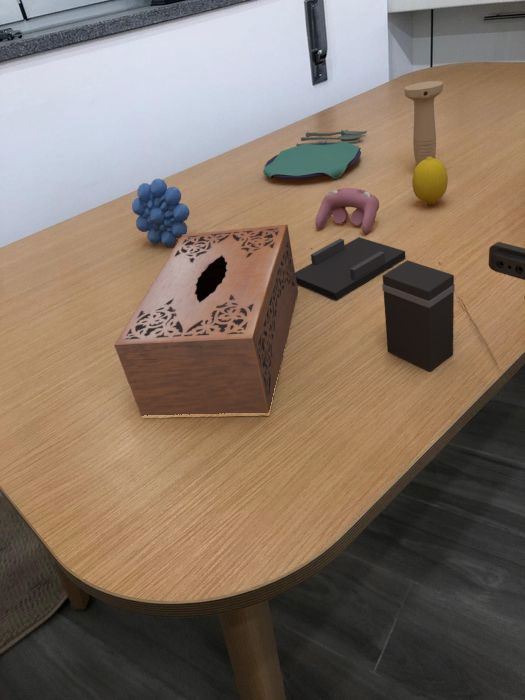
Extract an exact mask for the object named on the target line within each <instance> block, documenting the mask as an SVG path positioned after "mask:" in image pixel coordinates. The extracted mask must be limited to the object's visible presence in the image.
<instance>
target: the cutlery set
mask: <svg viewBox="0 0 525 700" xmlns="http://www.w3.org/2000/svg"><path fill="white" fill-rule="evenodd" d="M367 132H368V130H362V131H360V130H348V129H345V130H344V129H341V130H340V131H334V132H311V131H310V132H309V131H308V132H305V136H302V137H301V138H300V141H301V142H306V141H318V142H309V143H296V144H295V145H296V146H293V147H289V148H287V149H283V150H281V151H279V152H278V154H276V155H274V156H273V157H271V158H270V159H268V160H267V161H266V163H265V165H264V168H263V171H262V172H263V174H264V175H265V176H266V177H268V178H269V179H271V180H272V179H273V178H279V179H283V180H305V179H306V180H307V179H314V178H319V177H324V176H330V177H331V178H332V179H334V180H338V179H339V178H341V176H342V175H343V174H344V173H345V171H346V169H347V168H349V167H351V166H353V165H354V164H355V163H356V162H357V161H358V160H360V158H361V155H362V151H361V149H362V148H361V147H360V146H358V145H357V144H359V143H360V140H359V139H361V138H363V136H364V135H366V133H367ZM337 135H340V136H337ZM333 136H337V137H333ZM319 140H320V141H319ZM322 140H325V141H322ZM328 140H337V141H328ZM338 140H340V141H338ZM355 144H356V145H355Z"/></svg>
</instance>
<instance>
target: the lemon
mask: <svg viewBox="0 0 525 700" xmlns="http://www.w3.org/2000/svg"><path fill="white" fill-rule="evenodd" d="M448 181H449V177H448V171H447V168H446V166H445V165H444V163H443V162H442V161H441V160H439V159H437V158H435V159H434V158H432V157H427V158H426V159H425V160H423V161H421V162H420V163H419V164H418V165H417V166H416V165H415V168H414V170H413V174H412V180H411V184H412V191H413V194H414V195H415V197H416V198H417V199H418V200H419V201H421V202H423V203H426V204H427V205H428V206H432V205H433V204H434V203H435V202H437V201H439V200H440V199H441V198H443V196H445V193H446V192H447V189H448V183H449V182H448Z"/></svg>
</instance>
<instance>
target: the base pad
mask: <svg viewBox="0 0 525 700" xmlns="http://www.w3.org/2000/svg"><path fill="white" fill-rule="evenodd" d="M310 259H311V263H310V264H308V265H306V266H304V267H302V268H300V269H298V270H297V271H295V275H296V282H297V286H300V287H303V288H304V289H307V290H310V291H312V292H314V293H316V294H318V295H322V296H324V297H326V298H328V299H331V300H333V301H338V300H339V299H341V298H343V297H345V296H346V295H348V294H350V293H351V292H353V291H354V290H356V289H358V288H360V287H362V285H364V284H366V283H368V282H370V281H371V280H373V279H375V278H376V277H377V276H379V275H381V274H382V273H384V272H386V271H387V270H389V269H391V268H393V267H394V266H395V265H397V264H399V263H401V262H402V261H404V260H405V259H406V250H403V249H400V248H396V247H393V246H390V245H386V244H383V243H380V242H376V241H374V240H370V239H368V238H367V239H366V238H363V237H360V236H359V237H356V238H355V239H353V240H351V241H349V242H347V243H345V239H343V238H338V239H336V240H335V241H332V242H331V243H329V244H328V245H326V246H323V247H322V248H319V250H317V251H315V252H313V253H310Z"/></svg>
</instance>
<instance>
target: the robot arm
mask: <svg viewBox="0 0 525 700" xmlns="http://www.w3.org/2000/svg"><path fill="white" fill-rule="evenodd" d="M488 267H489V269H490V270H492V271H494V272H496V273H499V274H503V275H505V276H508V277H512V278H516V279H519V280H522V281H525V248H524V247H520V246H517V245H514V244H509V243H505V242H501V241H497V242H495V243H493V244H492V245H491V246H490V247H489V249H488ZM524 300H525V297H524Z"/></svg>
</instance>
